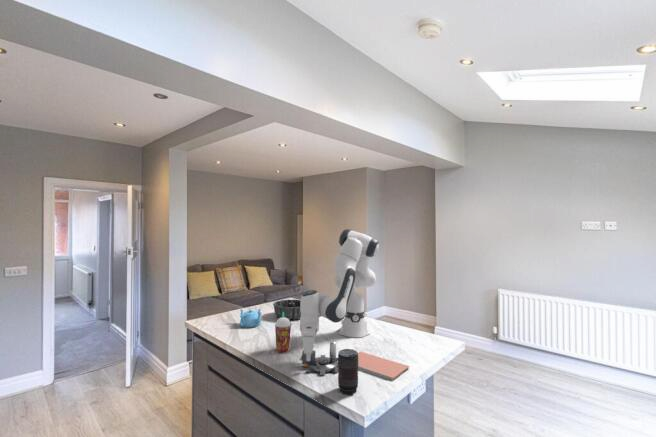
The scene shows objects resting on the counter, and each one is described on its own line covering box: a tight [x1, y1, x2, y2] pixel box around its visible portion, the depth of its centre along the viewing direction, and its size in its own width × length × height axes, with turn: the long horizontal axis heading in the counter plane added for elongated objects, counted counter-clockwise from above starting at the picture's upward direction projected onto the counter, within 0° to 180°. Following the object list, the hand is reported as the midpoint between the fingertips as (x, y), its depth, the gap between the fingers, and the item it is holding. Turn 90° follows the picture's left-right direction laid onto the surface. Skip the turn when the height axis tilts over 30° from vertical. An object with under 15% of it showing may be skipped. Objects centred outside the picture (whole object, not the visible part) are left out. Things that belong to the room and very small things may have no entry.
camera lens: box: [337, 348, 359, 396], centre depth 129 cm, size 8×8×15 cm
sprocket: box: [302, 340, 339, 376], centre depth 151 cm, size 18×18×10 cm
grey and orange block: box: [301, 350, 317, 365], centre depth 151 cm, size 3×6×5 cm, turn 91°
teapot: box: [239, 307, 263, 329], centre depth 212 cm, size 15×15×10 cm
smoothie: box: [274, 312, 292, 354], centre depth 169 cm, size 8×8×20 cm
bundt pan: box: [272, 299, 301, 321], centre depth 234 cm, size 26×26×10 cm
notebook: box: [357, 351, 410, 382], centre depth 152 cm, size 27×17×2 cm, turn 50°
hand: (308, 356), depth 151 cm, fingers open, 8 cm apart
